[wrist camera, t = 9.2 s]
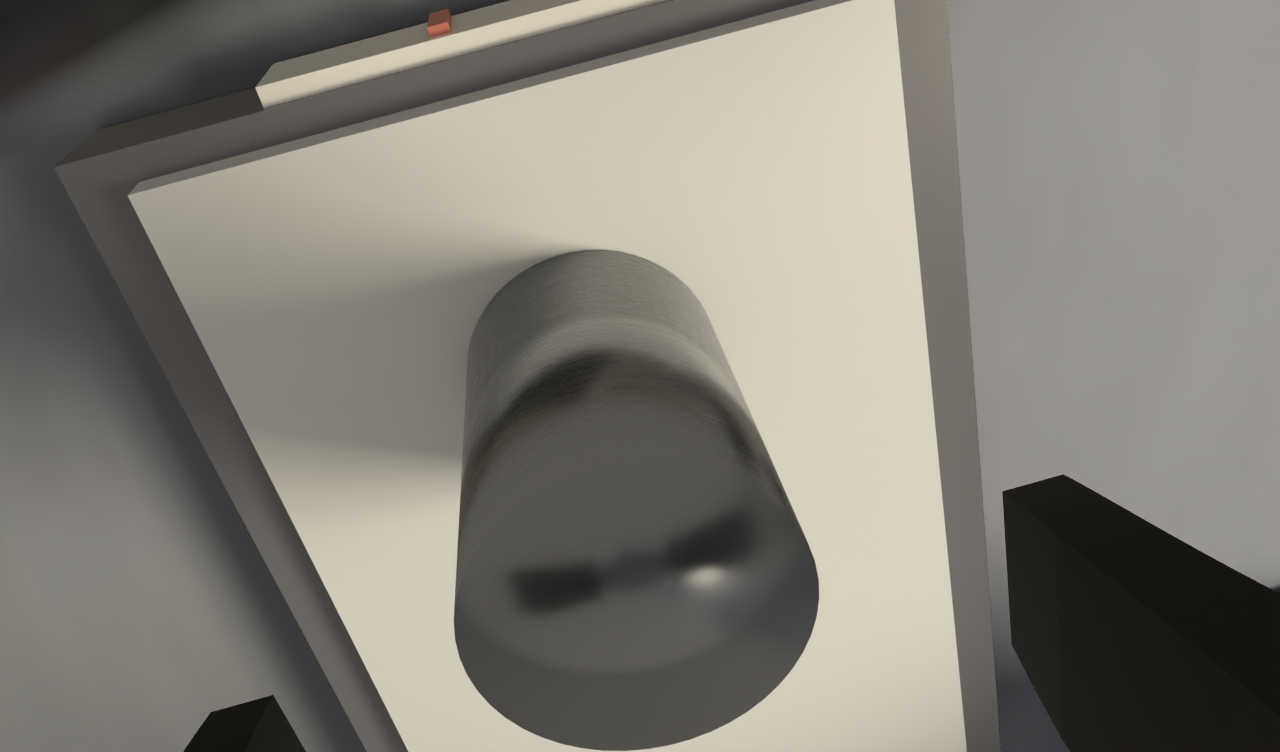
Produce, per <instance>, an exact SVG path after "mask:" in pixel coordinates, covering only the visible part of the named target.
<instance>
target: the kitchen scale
mask: <svg viewBox="0 0 1280 752" xmlns="http://www.w3.org/2000/svg"><path fill="white" fill-rule="evenodd" d="M54 169H55V171H56V173H57V175H58V177H59V179H60V180H61V182H62V184H63V186H64V188H65V190H66V192H67V194H68V195H69V197H70V199H71V201H72V203H73V205H74V207H75V208H76V210H77V212H78V214H79V216H80V218H81V220H82V222H83V223H84V225H85V227H86V229H87V231H88V233H89V235H90V236H91V238H92V240H93V242H94V244H95V246H96V248H97V250H98V251H99V253H100V255H101V257H102V259H103V261H104V263H105V264H106V266H107V268H108V270H109V272H110V274H111V276H112V278H113V279H114V281H115V283H116V285H117V287H118V289H119V291H120V292H121V294H122V296H123V298H124V300H125V302H126V304H127V306H128V307H129V309H130V311H131V313H132V315H133V317H134V319H135V320H136V322H137V324H138V326H139V328H140V330H141V332H142V334H143V335H144V337H145V339H146V341H147V343H148V345H149V347H150V348H151V350H152V352H153V354H154V356H155V358H156V360H157V362H158V363H159V365H160V367H161V369H162V371H163V373H164V375H165V376H166V378H167V380H168V382H169V384H170V386H171V388H172V390H173V391H174V393H175V395H176V397H177V399H178V401H179V403H180V404H181V406H182V408H183V410H184V412H185V414H186V416H187V418H188V419H189V421H190V423H191V425H192V427H193V429H194V431H195V432H196V434H197V436H198V438H199V440H200V442H201V444H202V446H203V447H204V449H205V451H206V453H207V455H208V457H209V459H210V460H211V462H212V464H213V466H214V468H215V470H216V472H217V474H218V475H219V477H220V479H221V481H222V483H223V485H224V487H225V488H226V490H227V492H228V494H229V496H230V498H231V500H232V502H233V503H234V505H235V507H236V509H237V511H238V513H239V515H240V516H241V518H242V520H243V522H244V524H245V526H246V528H247V530H248V531H249V533H250V535H251V537H252V539H253V541H254V543H255V544H256V546H257V548H258V550H259V552H260V554H261V556H262V558H263V559H264V561H265V563H266V565H267V567H268V569H269V571H270V572H271V574H272V576H273V578H274V580H275V582H276V584H277V586H278V587H279V589H280V591H281V593H282V595H283V597H284V599H285V600H286V602H287V604H288V606H289V608H290V610H291V612H292V614H293V615H294V617H295V619H296V621H297V623H298V625H299V627H300V628H301V630H302V632H303V634H304V636H305V638H306V640H307V642H308V643H309V645H310V647H311V649H312V651H313V653H314V655H315V656H316V658H317V660H318V662H319V664H320V666H321V668H322V670H323V671H324V673H325V675H326V677H327V679H328V681H329V683H330V684H331V686H332V688H333V690H334V692H335V694H336V696H337V698H338V699H339V701H340V703H341V705H342V707H343V709H344V711H345V712H346V714H347V716H348V718H349V720H350V722H351V724H352V726H353V727H354V729H355V731H356V733H357V735H358V737H359V739H360V740H361V742H362V744H363V746H364V748H365V750H366V752H1001V747H1000V733H999V719H998V706H997V692H996V678H995V664H994V650H993V636H992V622H991V608H990V594H989V581H988V567H987V553H986V539H985V525H984V511H983V497H982V483H981V469H980V455H979V442H978V428H977V414H976V400H975V386H974V372H973V358H972V344H971V330H970V316H969V303H968V289H967V275H966V261H965V247H964V233H963V219H962V205H961V191H960V178H959V164H958V150H957V136H956V122H955V108H954V94H953V80H952V66H951V52H950V39H949V25H948V11H947V0H510V1H506V2H502V3H498V4H495V5H491V6H487V7H483V8H480V9H476V10H472V11H469V12H465V13H461V14H457V15H454V16H451V15H450V11H449V8H448V9H444V10H440V11H436V12H433V13H430V14H429V19H428V22H427V23H424V24H420V25H416V26H412V27H409V28H405V29H401V30H397V31H394V32H390V33H386V34H383V35H379V36H375V37H371V38H368V39H364V40H360V41H356V42H353V43H349V44H345V45H341V46H338V47H334V48H330V49H326V50H323V51H319V52H315V53H311V54H308V55H304V56H300V57H297V58H293V59H289V60H285V61H282V62H278V63H274V64H273V65H272V66H271V67H270V69H269V70H268V71H267V73H266V74H265V75H264V77H263V78H262V79H261V80H260V82H259V83H258V84H257V86H256V87H254V88H251V89H247V90H243V91H240V92H236V93H232V94H228V95H225V96H221V97H217V98H213V99H210V100H206V101H202V102H198V103H195V104H191V105H187V106H184V107H180V108H176V109H172V110H169V111H165V112H161V113H157V114H154V115H150V116H146V117H142V118H139V119H135V120H131V121H127V122H124V123H120V124H116V125H113V126H109V127H105V128H101V129H98V130H96V131H95V132H94V133H93V134H92V135H91V136H89V137H88V138H87V139H86V140H85V141H84V142H82V143H81V144H80V145H79V146H78V147H77V148H75V149H74V150H73V151H72V152H71V153H70V154H68V155H67V156H66V157H65V158H64V159H63V160H61V161H60V162H59V163H58V164H57V165H56V166H55V167H54ZM585 250H607V251H617V252H623V253H627V254H631V255H636V256H639V257H641V258H644V259H647V260H649V261H652V262H654V263H656V264H658V265H659V266H661V267H663V268H665V269H667V270H668V271H670V272H671V273H672V274H674V275H675V276H676V277H678V278H679V279H680V280H681V281H682V282H683V283H684V284H685V285H687V286H688V287H689V288H690V289H691V291H692V292H693V293H694V294H695V296H696V297H697V298H698V300H699V301H700V303H701V304H702V306H703V308H704V310H705V311H706V313H707V315H708V317H709V319H710V322H711V324H712V326H713V329H714V331H715V333H716V335H717V338H718V340H719V342H720V344H721V347H722V349H723V351H724V354H725V356H726V358H727V360H728V363H729V365H730V367H731V369H732V372H733V374H734V376H735V379H736V381H737V383H738V385H739V388H740V390H741V392H742V394H743V397H744V399H745V401H746V403H747V406H748V408H749V410H750V413H751V415H752V417H753V419H754V422H755V424H756V426H757V428H758V431H759V433H760V435H761V438H762V440H763V442H764V444H765V447H766V449H767V451H768V453H769V456H770V458H771V460H772V463H773V465H774V467H775V469H776V472H777V474H778V476H779V478H780V481H781V483H782V485H783V487H784V490H785V492H786V494H787V497H788V499H789V501H790V503H791V506H792V508H793V510H794V512H795V515H796V517H797V519H798V522H799V524H800V526H801V528H802V531H803V533H804V535H805V537H806V540H807V542H808V544H809V547H810V549H811V552H812V555H813V557H814V560H815V564H816V569H817V574H818V579H819V603H818V611H817V617H816V621H815V624H814V627H813V631H812V634H811V636H810V639H809V641H808V643H807V645H806V647H805V649H804V652H803V653H802V655H801V656H800V658H799V660H798V661H797V663H796V664H795V666H794V667H793V669H792V670H791V671H790V673H789V674H788V675H787V676H786V677H785V679H784V680H783V681H782V682H781V683H780V684H779V685H778V686H777V687H776V688H775V689H774V690H773V691H772V692H771V693H770V694H769V695H768V696H767V697H766V698H765V699H764V700H762V701H761V702H760V703H758V704H757V705H756V706H754V707H753V708H752V709H751V710H749V711H748V712H746V713H745V714H743V715H741V716H740V717H738V718H736V719H735V720H733V721H732V722H730V723H728V724H726V725H724V726H722V727H720V728H718V729H716V730H713V731H711V732H709V733H706V734H704V735H701V736H698V737H696V738H693V739H690V740H687V741H683V742H679V743H676V744H672V745H668V746H662V747H657V748H651V749H643V750H631V751H602V750H593V749H584V748H578V747H574V746H569V745H564V744H560V743H557V742H554V741H551V740H548V739H545V738H542V737H540V736H537V735H535V734H533V733H531V732H529V731H527V730H525V729H523V728H521V727H519V726H518V725H516V724H515V723H513V722H511V721H510V720H508V719H507V718H505V717H504V716H503V715H501V714H500V713H499V712H498V711H497V710H495V709H494V708H493V707H492V706H491V705H490V704H489V703H488V702H487V701H486V700H485V699H484V698H483V697H482V695H481V694H480V693H479V692H478V691H477V689H476V688H475V686H474V685H473V683H472V682H471V680H470V679H469V677H468V676H467V674H466V671H465V669H464V667H463V665H462V662H461V660H460V658H459V654H458V650H457V646H456V642H455V633H454V604H455V586H456V567H457V548H458V529H459V510H460V491H461V472H462V453H463V435H464V416H465V397H466V378H467V361H468V350H469V346H470V342H471V338H472V334H473V332H474V329H475V327H476V324H477V322H478V320H479V318H480V316H481V314H482V313H483V311H484V309H485V307H486V306H487V305H488V303H489V302H490V301H491V300H492V298H493V297H494V296H495V294H496V293H497V292H498V291H499V290H500V289H502V288H503V287H504V286H505V285H506V284H507V283H508V282H509V281H510V280H512V279H513V278H514V277H516V276H517V275H518V274H520V273H521V272H523V271H524V270H526V269H528V268H530V267H532V266H533V265H535V264H537V263H540V262H542V261H544V260H547V259H549V258H552V257H555V256H559V255H563V254H566V253H571V252H578V251H585Z"/></svg>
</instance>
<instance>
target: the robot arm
mask: <svg viewBox="0 0 1280 752" xmlns="http://www.w3.org/2000/svg"><path fill="white" fill-rule="evenodd" d="M1003 508H1004V524H1005V541H1006V557H1007V574H1008V591H1009V607H1010V624H1011V640H1012V646H1013V648H1014V650H1015V652H1016V654H1017V655H1018V657H1019V659H1020V661H1021V663H1022V665H1023V667H1024V669H1025V671H1026V673H1027V675H1028V677H1029V679H1030V681H1031V683H1032V685H1033V686H1034V688H1035V690H1036V692H1037V694H1038V696H1039V698H1040V700H1041V702H1042V703H1043V705H1044V707H1045V709H1046V711H1047V713H1048V714H1049V716H1050V718H1051V720H1052V722H1053V724H1054V725H1055V727H1056V729H1057V731H1058V733H1059V735H1060V736H1061V738H1062V740H1063V741H1064V743H1065V744H1066V746H1067V747H1068V749H1069V750H1070V752H1280V594H1279V593H1277V592H1275V591H1273V590H1271V589H1270V588H1268V587H1266V586H1264V585H1262V584H1260V583H1258V582H1256V581H1254V580H1253V579H1251V578H1249V577H1247V576H1245V575H1243V574H1241V573H1239V572H1237V571H1236V570H1234V569H1232V568H1230V567H1228V566H1226V565H1224V564H1223V563H1221V562H1219V561H1217V560H1215V559H1214V558H1212V557H1210V556H1208V555H1206V554H1204V553H1203V552H1201V551H1199V550H1197V549H1195V548H1193V547H1192V546H1190V545H1188V544H1186V543H1185V542H1183V541H1181V540H1179V539H1177V538H1176V537H1174V536H1172V535H1170V534H1168V533H1167V532H1165V531H1163V530H1161V529H1160V528H1158V527H1156V526H1154V525H1152V524H1151V523H1149V522H1147V521H1145V520H1144V519H1142V518H1140V517H1138V516H1137V515H1135V514H1133V513H1131V512H1130V511H1128V510H1126V509H1124V508H1123V507H1121V506H1119V505H1117V504H1116V503H1114V502H1112V501H1110V500H1109V499H1107V498H1105V497H1103V496H1101V495H1100V494H1098V493H1096V492H1094V491H1093V490H1091V489H1089V488H1087V487H1086V486H1084V485H1082V484H1080V483H1078V482H1076V481H1075V480H1073V479H1071V478H1069V477H1067V476H1065V475H1060V476H1056V477H1053V478H1049V479H1046V480H1042V481H1038V482H1035V483H1031V484H1028V485H1024V486H1021V487H1017V488H1013V489H1010V490H1006V491H1003ZM184 752H306V751H305V749H304V748H303V746H302V744H301V742H300V741H299V739H298V737H297V736H296V734H295V732H294V730H293V729H292V727H291V725H290V723H289V722H288V720H287V718H286V716H285V715H284V713H283V711H282V710H281V708H280V706H279V704H278V703H277V701H276V699H275V697H274V696H273V695H271V696H268V697H264V698H261V699H257V700H253V701H250V702H246V703H243V704H239V705H235V706H232V707H228V708H225V709H221V710H218V711H214V712H211V713H210V714H209V716H208V717H207V718H206V720H205V721H204V723H203V724H202V725H201V727H200V728H199V730H198V731H197V733H196V734H195V735H194V737H193V738H192V740H191V741H190V743H189V744H188V746H187V747H186V749H185V750H184Z"/></svg>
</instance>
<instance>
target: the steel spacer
mask: <svg viewBox="0 0 1280 752" xmlns="http://www.w3.org/2000/svg"><path fill="white" fill-rule="evenodd" d="M818 603H819V579H818V574H817V569H816V564H815V560H814V557H813V555H812V552H811V549H810V547H809V544H808V542H807V540H806V537H805V535H804V533H803V531H802V528H801V526H800V524H799V522H798V519H797V517H796V515H795V512H794V510H793V508H792V506H791V503H790V501H789V499H788V497H787V494H786V492H785V490H784V487H783V485H782V483H781V481H780V478H779V476H778V474H777V472H776V469H775V467H774V465H773V463H772V460H771V458H770V456H769V453H768V451H767V449H766V447H765V444H764V442H763V440H762V438H761V435H760V433H759V431H758V428H757V426H756V424H755V422H754V419H753V417H752V415H751V413H750V410H749V408H748V406H747V403H746V401H745V399H744V397H743V394H742V392H741V390H740V388H739V385H738V383H737V381H736V379H735V376H734V374H733V372H732V369H731V367H730V365H729V363H728V360H727V358H726V356H725V354H724V351H723V349H722V347H721V344H720V342H719V340H718V338H717V335H716V333H715V331H714V329H713V326H712V324H711V322H710V319H709V317H708V315H707V313H706V311H705V310H704V308H703V306H702V304H701V303H700V301H699V300H698V298H697V297H696V296H695V294H694V293H693V292H692V291H691V289H690V288H689V287H688V286H687V285H685V284H684V283H683V282H682V281H681V280H680V279H679V278H678V277H676V276H675V275H674V274H672V273H671V272H670V271H668V270H667V269H665V268H663V267H661V266H659V265H658V264H656V263H654V262H652V261H649V260H647V259H644V258H641V257H639V256H636V255H631V254H627V253H623V252H617V251H607V250H585V251H578V252H571V253H566V254H563V255H559V256H555V257H552V258H549V259H547V260H544V261H542V262H540V263H537V264H535V265H533V266H532V267H530V268H528V269H526V270H524V271H523V272H521V273H520V274H518V275H517V276H516V277H514V278H513V279H512V280H510V281H509V282H508V283H507V284H506V285H505V286H504V287H503V288H502V289H500V290H499V291H498V292H497V293H496V294H495V296H494V297H493V298H492V300H491V301H490V302H489V303H488V305H487V306H486V307H485V309H484V311H483V313H482V314H481V316H480V318H479V320H478V322H477V324H476V327H475V329H474V332H473V334H472V338H471V342H470V346H469V350H468V361H467V378H466V397H465V416H464V435H463V453H462V472H461V491H460V510H459V529H458V548H457V567H456V586H455V604H454V633H455V642H456V646H457V650H458V654H459V658H460V660H461V662H462V665H463V667H464V669H465V671H466V674H467V676H468V677H469V679H470V680H471V682H472V683H473V685H474V686H475V688H476V689H477V691H478V692H479V693H480V694H481V695H482V697H483V698H484V699H485V700H486V701H487V702H488V703H489V704H490V705H491V706H492V707H493V708H494V709H495V710H497V711H498V712H499V713H500V714H501V715H503V716H504V717H505V718H507V719H508V720H510V721H511V722H513V723H515V724H516V725H518V726H519V727H521V728H523V729H525V730H527V731H529V732H531V733H533V734H535V735H537V736H540V737H542V738H545V739H548V740H551V741H554V742H557V743H560V744H564V745H569V746H574V747H578V748H584V749H593V750H602V751H631V750H643V749H651V748H657V747H662V746H668V745H672V744H676V743H679V742H683V741H687V740H690V739H693V738H696V737H698V736H701V735H704V734H706V733H709V732H711V731H713V730H716V729H718V728H720V727H722V726H724V725H726V724H728V723H730V722H732V721H733V720H735V719H736V718H738V717H740V716H741V715H743V714H745V713H746V712H748V711H749V710H751V709H752V708H753V707H754V706H756V705H757V704H758V703H760V702H761V701H762V700H764V699H765V698H766V697H767V696H768V695H769V694H770V693H771V692H772V691H773V690H774V689H775V688H776V687H777V686H778V685H779V684H780V683H781V682H782V681H783V680H784V679H785V677H786V676H787V675H788V674H789V673H790V671H791V670H792V669H793V667H794V666H795V664H796V663H797V661H798V660H799V658H800V656H801V655H802V653H803V652H804V649H805V647H806V645H807V643H808V641H809V639H810V636H811V634H812V631H813V627H814V624H815V621H816V617H817V611H818Z"/></svg>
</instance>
